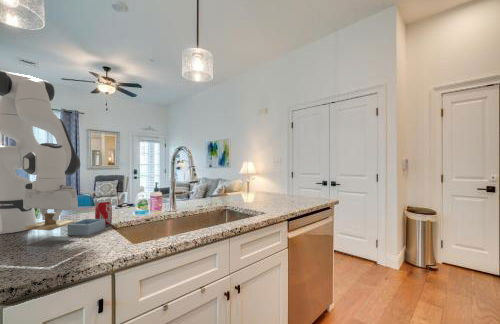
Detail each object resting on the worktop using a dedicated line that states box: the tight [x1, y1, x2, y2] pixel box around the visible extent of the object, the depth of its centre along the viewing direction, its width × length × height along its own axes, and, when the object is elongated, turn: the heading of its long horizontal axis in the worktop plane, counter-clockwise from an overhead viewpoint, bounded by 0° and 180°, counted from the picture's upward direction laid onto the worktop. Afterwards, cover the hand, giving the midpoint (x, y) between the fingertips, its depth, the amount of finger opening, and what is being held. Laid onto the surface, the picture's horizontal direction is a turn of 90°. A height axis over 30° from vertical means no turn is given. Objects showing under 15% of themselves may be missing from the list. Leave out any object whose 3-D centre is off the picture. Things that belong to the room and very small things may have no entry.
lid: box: [25, 212, 75, 231], centre depth 90 cm, size 10×10×5 cm
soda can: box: [94, 199, 113, 227], centre depth 114 cm, size 7×7×12 cm
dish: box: [67, 218, 106, 236], centre depth 102 cm, size 10×10×5 cm
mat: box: [24, 235, 77, 248], centre depth 90 cm, size 11×11×1 cm
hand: (50, 220), depth 90 cm, fingers closed on lid, 2 cm apart
